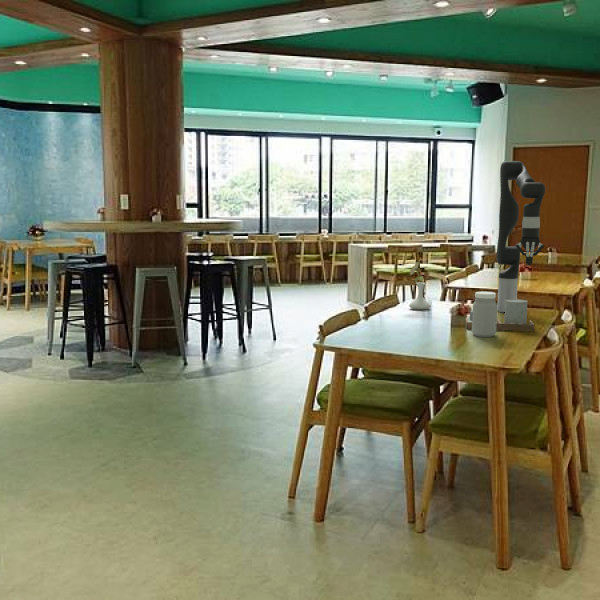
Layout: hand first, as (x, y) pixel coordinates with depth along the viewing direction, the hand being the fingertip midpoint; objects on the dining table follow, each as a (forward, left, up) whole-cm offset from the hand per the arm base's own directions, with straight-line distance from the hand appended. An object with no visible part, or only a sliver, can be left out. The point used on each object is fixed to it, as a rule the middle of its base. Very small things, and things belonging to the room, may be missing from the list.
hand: (528, 264), depth 297 cm
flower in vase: (-27, -50, -27) cm, 63 cm away
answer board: (+17, -13, -27) cm, 34 cm away
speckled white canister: (+16, -6, -27) cm, 32 cm away
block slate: (-3, -23, -27) cm, 36 cm away
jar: (+35, -21, -27) cm, 49 cm away
